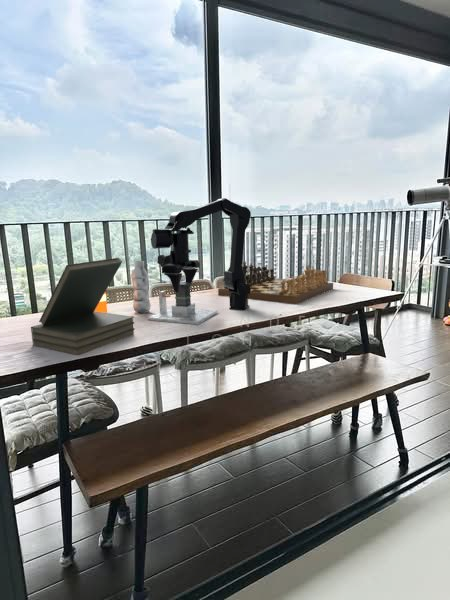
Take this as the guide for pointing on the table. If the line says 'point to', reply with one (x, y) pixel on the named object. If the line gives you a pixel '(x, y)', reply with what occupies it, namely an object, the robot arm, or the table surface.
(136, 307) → the plastic bottle
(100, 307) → the orange juice
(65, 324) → the bible
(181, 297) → the block
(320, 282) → the chess set
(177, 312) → the base
